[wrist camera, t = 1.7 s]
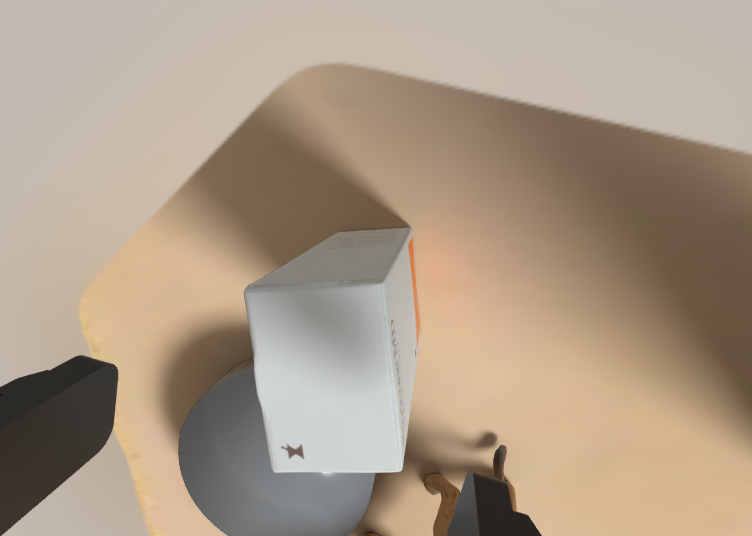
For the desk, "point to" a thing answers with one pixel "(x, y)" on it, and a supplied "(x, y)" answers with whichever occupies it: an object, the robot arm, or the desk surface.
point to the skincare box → (338, 353)
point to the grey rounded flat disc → (259, 471)
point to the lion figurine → (458, 493)
